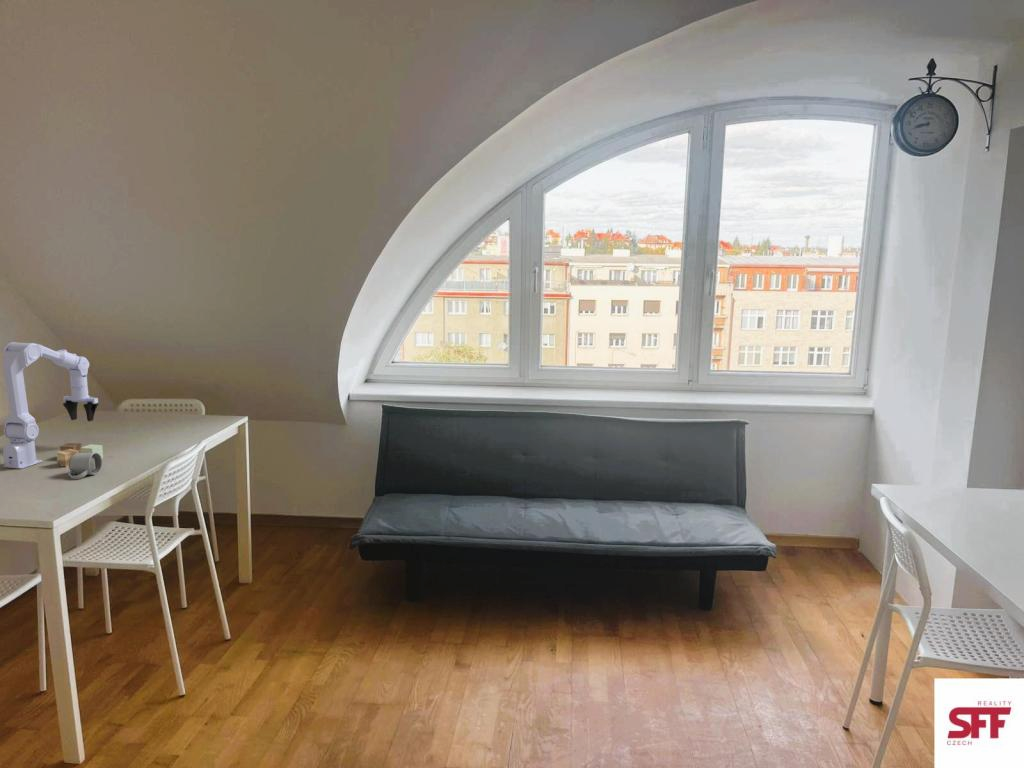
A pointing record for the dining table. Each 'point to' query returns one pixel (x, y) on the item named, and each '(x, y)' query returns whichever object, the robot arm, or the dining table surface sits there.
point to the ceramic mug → (85, 464)
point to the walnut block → (71, 446)
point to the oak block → (65, 456)
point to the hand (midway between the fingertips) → (82, 420)
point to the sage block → (92, 449)
